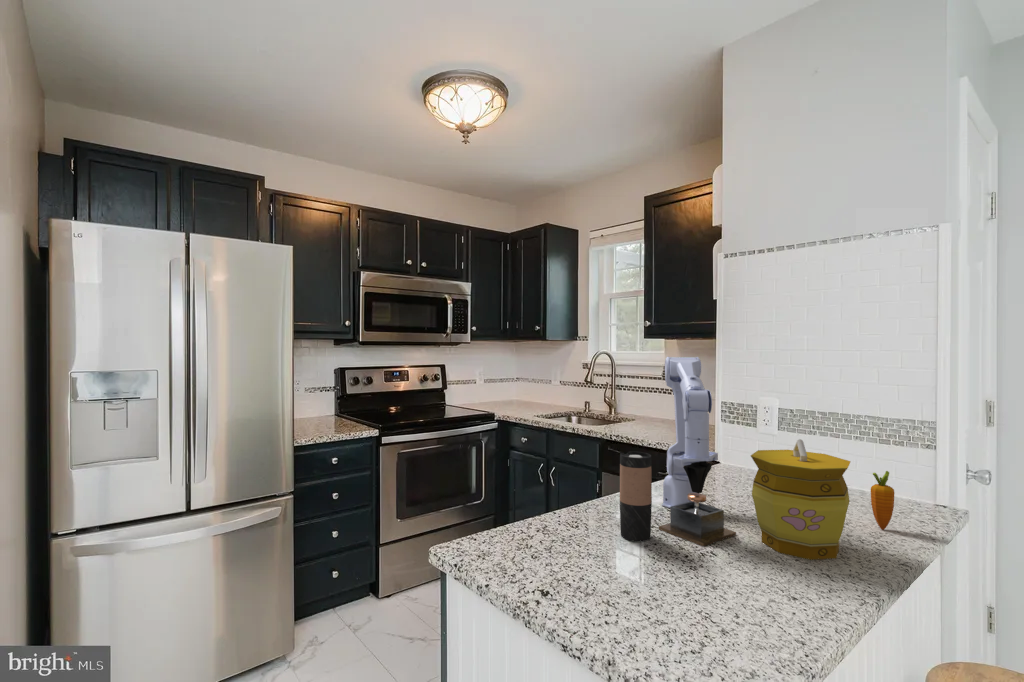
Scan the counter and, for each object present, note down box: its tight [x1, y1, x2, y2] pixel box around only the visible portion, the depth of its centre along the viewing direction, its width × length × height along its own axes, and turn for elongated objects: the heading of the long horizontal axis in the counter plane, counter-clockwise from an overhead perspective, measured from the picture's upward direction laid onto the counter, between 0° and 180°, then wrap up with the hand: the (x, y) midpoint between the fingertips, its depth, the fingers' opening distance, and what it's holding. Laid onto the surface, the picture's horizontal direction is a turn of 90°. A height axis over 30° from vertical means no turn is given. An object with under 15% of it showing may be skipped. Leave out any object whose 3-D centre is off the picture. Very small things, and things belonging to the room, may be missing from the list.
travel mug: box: [619, 451, 653, 543], centre depth 123 cm, size 8×8×20 cm
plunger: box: [685, 493, 709, 516], centre depth 125 cm, size 7×7×5 cm
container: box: [750, 438, 851, 561], centre depth 117 cm, size 21×21×25 cm
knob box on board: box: [658, 501, 737, 547], centre depth 125 cm, size 13×13×6 cm
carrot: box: [870, 470, 895, 531], centre depth 128 cm, size 5×5×15 cm
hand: (696, 492), depth 125 cm, fingers closed
